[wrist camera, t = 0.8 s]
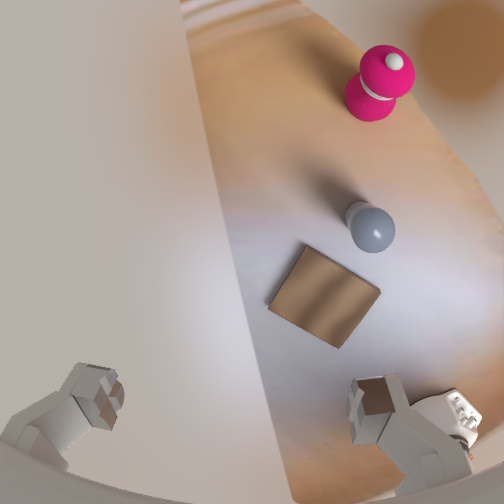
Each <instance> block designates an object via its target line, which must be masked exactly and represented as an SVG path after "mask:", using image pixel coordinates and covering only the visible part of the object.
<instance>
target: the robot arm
mask: <svg viewBox="0 0 504 504" xmlns="http://www.w3.org/2000/svg"><path fill="white" fill-rule="evenodd" d="M117 377H118V375H117V373H116V371H115V369H110V368H105V367H100V366H96V365H91V364H85V363H81V362H79V363H77V364H75V366H74V367H73V369H72V371H71V372H70V374H69V375H68V377H67V379H66V380H65V382H64V383H63V385H62V387H61V388H60V390H59V392H57V391H55V392H53V393H51V394H50V395H48V396H46V397H45V398H43V399H41V400H40V401H38V402H36V403H34V404H32V405H31V406H29V407H27V408H26V409H24V410H22V411H20V412H19V413H17V414H15V415H13V416H12V417H11V419H10V420H9V422H8V424H7V425H6V427H5V429H4V430H3V432H2V434H1V436H0V504H191V503H184V502H178V501H172V500H167V499H161V498H156V497H151V496H147V495H142V494H138V493H134V492H130V491H126V490H122V489H118V488H115V487H112V486H108V485H104V484H101V483H98V482H95V481H92V480H89V479H86V478H83V477H80V476H78V475H75V474H72V473H69V472H67V468H68V462H67V461H66V460H65V459H64V458H63V457H62V456H61V455H60V454H61V453H62V452H63V451H65V450H66V449H67V448H68V447H69V446H71V445H72V444H73V443H74V442H76V441H77V440H78V439H79V438H80V437H82V436H83V435H84V434H85V433H86V432H88V431H89V430H90V429H91V428H92V427H97V428H102V429H106V430H111V431H112V429H113V426H114V424H115V421H116V419H117V415H116V411H117V410H119V409H120V408H121V407H122V405H123V402H124V389H123V386H122V384H121V383H120V382H118V381H117V380H116V379H117ZM351 387H352V392H351V393H350V394H349V395H348V399H347V416H348V420H349V421H350V422H351V423H352V426H351V428H350V433H351V439H352V444H353V445H363V444H373V443H377V446H378V447H379V448H380V449H381V450H382V451H383V452H384V453H385V454H386V455H387V456H388V458H389V459H390V460H391V461H392V462H393V463H394V464H395V465H396V466H397V467H398V468H399V469H400V470H401V471H402V473H403V474H404V475H405V476H406V477H405V478H404V479H403V480H402V482H401V483H400V484H399V485H398V486H397V487H396V488H395V494H396V497H392V498H387V499H383V500H377V501H371V502H365V503H358V504H504V461H503V462H501V463H499V464H496V465H494V466H492V467H489V468H487V469H485V470H482V471H480V472H477V473H475V471H474V469H473V467H472V464H471V462H470V460H471V459H473V457H472V458H471V459H470V457H471V456H472V455H470V456H469V448H470V447H471V445H472V444H473V443H474V442H475V440H476V438H477V436H478V432H477V429H476V427H477V426H478V424H479V423H480V421H481V418H482V416H481V414H480V413H479V412H478V411H477V410H476V408H475V407H474V406H473V405H472V404H471V403H470V402H469V401H468V400H467V399H466V398H465V397H464V396H463V395H462V394H461V393H460V392H459V391H458V390H457V389H453V390H451V391H449V392H446V393H444V394H442V395H437V396H431V397H428V398H425V399H422V400H420V401H418V402H416V403H415V404H413V405H412V406H409V403H408V400H407V397H406V394H405V392H404V389H403V386H402V384H401V381H400V378H399V376H398V375H397V374H393V375H384V376H373V377H363V378H354V380H353V381H352V385H351ZM455 397H456V398H455Z"/></svg>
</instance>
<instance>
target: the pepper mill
mask: <svg viewBox="0 0 504 504" xmlns="http://www.w3.org/2000/svg"><path fill="white" fill-rule="evenodd" d="M414 80H415V70H414V66H413V64H412V62H411V60H410V59H409V57H408V56H407V55H406V54H405V53H404V52H403V51H401V50H399V49H398V48H395V47H393V46H389V45H379V46H375V47H373V48H371V49H369V50H368V51H367V52H366V53H365V54H364V55H363V57H362V59H361V61H360V72H359V73H357V74H356V75H354V76H353V77H352V78H351V79H350V80H349V82H348V83H347V86H346V89H345V98H346V104H347V107H348V109H349V111H350V113H351V114H352V115H353V116H354V117H356V118H357V119H359V120H362V121H366V122H371V121H376V120H381V119H383V118H385V117H387V116H388V115H389V114H390V113H391V112H392V110H393V108H394V106H395V103H396V98H398V97H401V96H403V95H405V94H406V93H407V92H408V91H409V90H410V89H411V88H412V86H413V84H414Z"/></svg>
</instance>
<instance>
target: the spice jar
mask: <svg viewBox="0 0 504 504" xmlns="http://www.w3.org/2000/svg"><path fill="white" fill-rule="evenodd" d="M345 221H346V224H347V226H348V228H349V230H350V232H351V236H352V238H353V240H354V242H355V244H356V245H357V246H358V247H359V248H360V249H361V250H363V251H365V252H368V253H378V252H381V251H383V250H385V249H386V248H387V247H388V246H389V245H390V244H391V243H392V241H393V239H394V235H395V225H394V222H393V220H392V218H391V216H390V215H389V214H388V213H387V212H385V211H384V210H382V209H380V208H376V207H374V206H372V205H370V204H369V203H367V202H363V201H359V202H355V203H353V204H352V205H350V206H349V208H348V209H347V211H346V214H345Z"/></svg>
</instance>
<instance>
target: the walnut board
mask: <svg viewBox="0 0 504 504" xmlns="http://www.w3.org/2000/svg"><path fill="white" fill-rule="evenodd" d="M380 294H381V291H380V289H378V288H377V287H375V286H374V285H372V284H370V283H369V282H367V281H366V280H364V279H362V278H361V277H359V276H357V275H356V274H354V273H353V272H351V271H349V270H348V269H346V268H344V267H343V266H341V265H339V264H338V263H336V262H335V261H333V260H331V259H330V258H328V257H326V256H325V255H323V254H321V253H320V252H318V251H316V250H315V249H313V248H311V247H310V246H308V245H306V247H305V249H304V250H303V252H302V254H301V255H300V257H299V259H298V260H297V262H296V263H295V265H294V267H293V268H292V270H291V271H290V273H289V275H288V276H287V278H286V279H285V281H284V283H283V284H282V286H281V287H280V289H279V290H278V292H277V294H276V295H275V297H274V298H273V300H272V301H271V303H270V305H269V307H268V310H270V311H272V312H274V313H275V314H277V315H279V316H281V317H282V318H284V319H286V320H288V321H289V322H291V323H293V324H295V325H296V326H298V327H300V328H302V329H304V330H305V331H307V332H309V333H311V334H312V335H314V336H316V337H318V338H320V339H321V340H323V341H325V342H327V343H329V344H330V345H332V346H334V347H336V348H338V349H339V348H340V347H341V346H342V344H343V343H344V342H345V341H346V339H347V338H348V337H349V336H350V334H351V333H352V332H353V330H354V329H355V328H356V326H357V325H358V324H359V323H360V321H361V320H362V319H363V317H364V316H365V314H366V313H367V312H368V310H369V309H370V308H371V306H372V305H373V304H374V302H375V301H376V299H377V298H378V297H379V295H380Z"/></svg>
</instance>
